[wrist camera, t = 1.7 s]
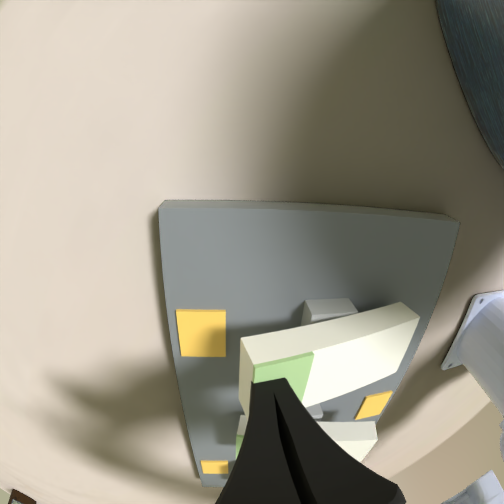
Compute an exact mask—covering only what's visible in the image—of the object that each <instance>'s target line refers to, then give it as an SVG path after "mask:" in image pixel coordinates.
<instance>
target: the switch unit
mask: <svg viewBox="0 0 504 504" xmlns="http://www.w3.org/2000/svg"><path fill="white" fill-rule="evenodd" d="M158 212H159V231H160V246H161V259H162V271H163V281H164V291H165V300H166V308H167V316H168V324H169V331H170V338H171V345H172V351H173V358H174V364H175V369H176V375H177V381H178V386H179V391H180V396H181V401H182V406H183V411H184V416H185V420H186V425H187V429H188V433H189V438H190V442H191V446H192V450H193V454H194V458H195V461H196V465H197V469H198V472H199V476H200V480H201V483H202V486H203V487H224V486H225V484H226V482H227V480H228V478H229V476H230V473H231V471H232V469H233V466H234V464H235V461H236V435H237V430H238V426H239V421H240V416H241V415H245V413H244V410H243V408H242V405H241V403H240V401H239V368H240V340H241V338H242V337H248V336H254V335H260V334H265V333H271V332H276V331H281V330H286V329H291V328H296V327H301V326H306V325H310V324H315V323H320V322H324V321H328V320H333V319H337V318H341V317H345V316H349V315H353V314H357V313H361V312H365V311H369V310H373V309H376V308H380V307H384V306H387V305H391V304H394V303H398V302H402V303H403V304H405V305H406V306H407V307H408V308H410V309H411V310H412V311H414V312H415V313H416V314H417V315H419V316H420V319H419V321H418V324H417V326H416V329H415V331H414V334H413V336H412V339H411V341H410V343H409V345H408V348H407V350H406V352H405V354H404V357H403V359H402V361H401V363H400V365H399V367H398V369H397V371H396V372H395V373H393V374H391V375H389V376H387V377H384V378H382V379H380V380H378V381H375V382H373V383H371V384H368V385H366V386H364V387H361V388H359V389H356V390H354V391H351V392H348V393H346V394H343V395H341V396H338V397H335V398H332V399H329V400H327V401H324V402H321V403H318V404H315V405H312V406H309V407H306V409H307V411H308V412H309V413H310V415H311V416H312V417H313V418H314V420H315V421H316V422H366V421H375V425H376V423H377V422H378V420H379V419H380V417H381V415H382V414H383V412H384V410H385V409H386V407H387V405H388V404H389V402H390V400H391V399H392V397H393V395H394V393H395V392H396V390H397V388H398V386H399V384H400V382H401V380H402V379H403V377H404V375H405V373H406V371H407V369H408V367H409V365H410V363H411V361H412V359H413V357H414V355H415V353H416V350H417V348H418V346H419V344H420V342H421V339H422V337H423V335H424V332H425V330H426V328H427V325H428V323H429V320H430V318H431V316H432V313H433V310H434V308H435V305H436V302H437V300H438V297H439V294H440V291H441V288H442V286H443V283H444V280H445V277H446V273H447V270H448V267H449V264H450V260H451V257H452V253H453V250H454V246H455V242H456V238H457V234H458V230H459V226H460V222H458V221H456V220H455V219H453V218H451V217H449V216H447V215H443V214H435V213H426V212H417V211H407V210H397V209H386V208H375V207H363V206H349V205H335V204H318V203H299V202H276V201H242V200H165V201H164V202H163V203H162V204H161V206H160V207H159V208H158Z"/></svg>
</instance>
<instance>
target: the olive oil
mask: <svg viewBox="0 0 504 504" xmlns="http://www.w3.org/2000/svg"><path fill="white" fill-rule="evenodd" d="M8 504H36V501H34V500H33V499H31V498H30V497H28V496H26V495H24V494H23V493H21V492H19V491H17V490H15V489H13V490H12V492H11V496H10V499H9V502H8Z"/></svg>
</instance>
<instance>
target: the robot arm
mask: <svg viewBox="0 0 504 504" xmlns="http://www.w3.org/2000/svg"><path fill="white" fill-rule="evenodd" d="M462 364H463V365H464V366H465V367H466V368H467V370H468V371H469V372H470V373H471V375H472V376H473V377H474V378H475V380H476V381H477V382H478V384H479V385H480V386H481V387H482V389H483V390H484V391H485V393H486V394H487V395H488V397H489V398H490V399H491V401H492V402H493V403H494V405H495V406H496V408H497V409H498V410H499V412H500V413H501V415H502V416H503V417H504V290H501V291H495V292H489V293H483V294H477V295H475V296H474V297H473V299H472V302H471V304H470V306H469V309H468V311H467V314H466V316H465V318H464V321H463V323H462V325H461V327H460V329H459V332H458V334H457V336H456V338H455V340H454V342H453V344H452V346H451V348H450V350H449V352H448V354H447V356H446V358H445V359H444V361H443V363H442V365H441V369H442V370H447V369H450V368H453V367H456V366H459V365H462ZM499 426H500V427H501V428H502V430H503V431H502V433H501V436H500V451H501V455H502V458H503V461H504V420H503V421H502V422H501V423H500V425H499ZM405 503H406V500H405V497H404V495H403V493H402V491H401V490H400V488H399V487H398V485H397V484H395V483H393V482H391V481H389V480H387V479H385V478H384V477H382V476H380V475H378V474H377V473H375V472H373V471H372V470H370V469H369V468H367V467H366V466H364V465H363V464H361V463H360V462H359V461H357V460H356V459H355V458H353V457H352V456H351V455H349V454H348V453H347V452H346V451H345V450H343V449H342V448H341V447H340V446H339V445H338V444H337V443H336V442H335V441H334V440H333V439H332V438H331V437H330V436H329V435H328V434H327V433H326V432H325V431H324V430H323V429H322V428H321V427H320V426H319V424H318V423H317V422H316V421H315V420H314V418H313V417H312V416H311V415H310V413H309V412H308V411H307V409H306V408H305V407H304V405H303V404H302V403H301V401H300V400H299V398H298V397H297V395H296V394H295V392H294V390H293V389H292V387H291V386H290V384H289V382H288V380H287V379H286V378H285V377H284V378H279V379H274V380H269V381H263V382H258V383H253V382H252V381H251V389H250V403H249V417H248V422H247V426H246V430H245V434H244V438H243V441H242V444H241V447H240V450H239V453H238V456H237V459H236V461H235V464H234V466H233V469H232V471H231V473H230V476H229V478H228V480H227V482H226V484H225V486H224V488H223V490H222V492H221V494H220V496H219V498H218V500H217V501H216V503H215V504H405ZM441 504H504V491H503V489H502V487H501V485H500V483H499V481H498V480H497V478H496V476H495V474H494V473H493V471H492V470H490V471H488V472H487V473H486V474H485V475H483V476H482V477H480V478H479V479H477V480H476V481H475V482H473V483H472V484H471V485H469V486H468V487H467V488H466V489H464V490H463V491H461V492H460V493H458V494H456V495H455V496H453V497H451V498H450V499H448V500H446V501H445V502H443V503H441Z"/></svg>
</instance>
